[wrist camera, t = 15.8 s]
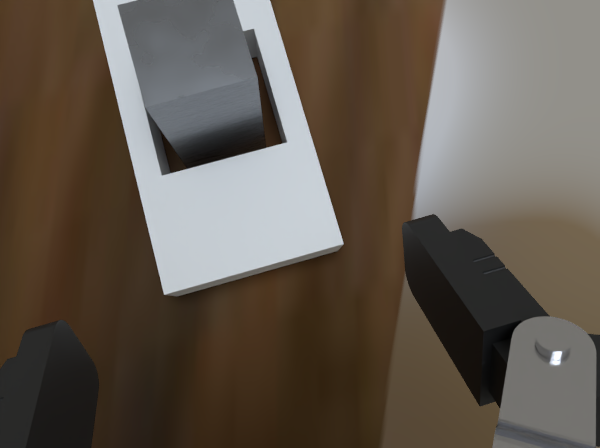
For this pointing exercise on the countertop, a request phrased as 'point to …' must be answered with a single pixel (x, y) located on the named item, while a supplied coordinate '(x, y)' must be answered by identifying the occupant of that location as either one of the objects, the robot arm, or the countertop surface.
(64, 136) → the countertop surface
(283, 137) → the white square hole block
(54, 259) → the countertop surface
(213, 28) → the steel square peg
